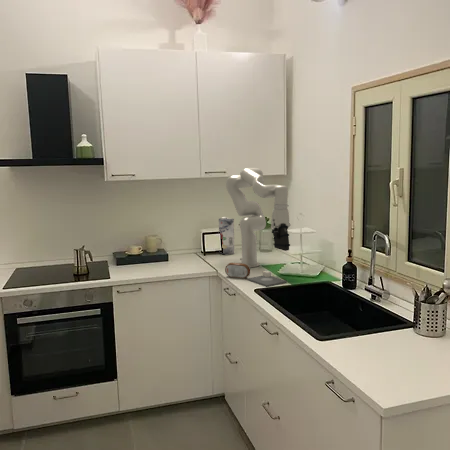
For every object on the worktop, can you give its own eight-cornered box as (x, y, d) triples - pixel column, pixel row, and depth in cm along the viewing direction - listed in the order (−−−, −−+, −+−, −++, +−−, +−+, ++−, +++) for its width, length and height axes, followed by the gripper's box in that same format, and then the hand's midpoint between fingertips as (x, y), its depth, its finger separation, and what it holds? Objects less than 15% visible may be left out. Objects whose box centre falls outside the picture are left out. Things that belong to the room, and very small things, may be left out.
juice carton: (228, 251, 351) (227, 215, 347) (236, 254, 342) (235, 216, 338) (217, 253, 346) (217, 216, 342) (225, 255, 337) (224, 217, 333)
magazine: (288, 249, 268) (281, 224, 271) (275, 255, 279) (269, 230, 283) (293, 248, 270) (286, 223, 273) (280, 254, 281) (274, 230, 284)
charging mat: (247, 280, 269) (247, 274, 268) (267, 276, 276) (267, 270, 276) (266, 286, 254) (266, 280, 253) (286, 282, 261) (286, 276, 261)
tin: (250, 278, 273) (250, 263, 272) (248, 279, 271) (248, 264, 269) (226, 275, 280) (226, 261, 278) (224, 277, 277) (224, 263, 275)
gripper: (287, 205, 281) (287, 235, 284) (265, 207, 272) (265, 238, 275) (296, 206, 275) (295, 237, 278) (273, 208, 266) (273, 240, 269)
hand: (280, 238), depth 277 cm, fingers closed on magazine, 3 cm apart
